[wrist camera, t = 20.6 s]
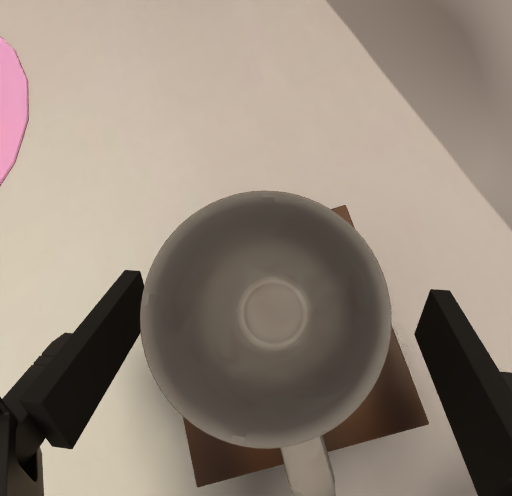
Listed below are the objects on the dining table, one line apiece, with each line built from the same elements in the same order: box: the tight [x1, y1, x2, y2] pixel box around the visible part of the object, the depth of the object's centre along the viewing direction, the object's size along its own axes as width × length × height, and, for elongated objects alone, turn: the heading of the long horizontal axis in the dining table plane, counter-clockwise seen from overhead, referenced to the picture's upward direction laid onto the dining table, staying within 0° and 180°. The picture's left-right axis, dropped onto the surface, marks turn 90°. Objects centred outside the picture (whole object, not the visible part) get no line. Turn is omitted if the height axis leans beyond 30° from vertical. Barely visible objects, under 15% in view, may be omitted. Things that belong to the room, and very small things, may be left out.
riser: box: [183, 205, 429, 487], centre depth 22 cm, size 14×14×6 cm
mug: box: [140, 191, 392, 496], centre depth 15 cm, size 12×9×10 cm
